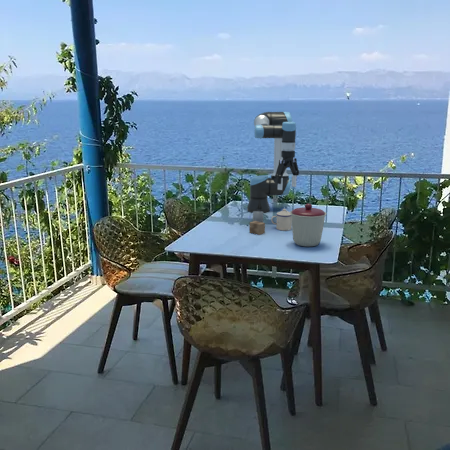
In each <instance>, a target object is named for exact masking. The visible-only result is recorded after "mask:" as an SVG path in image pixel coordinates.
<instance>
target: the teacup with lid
mask: <svg viewBox="0 0 450 450" xmlns="http://www.w3.org/2000/svg"><path fill="white" fill-rule="evenodd" d="M273 218H276V222H274V220H273ZM271 223H272V224H273V225H276V227H275V228H276V230H279V231H283V232H287V231H290V230H292V217H291V214H290V211H288V210H287V209H286V208H282V210H281V211H278V212H276V214H275V215H273V216H272V217H271Z"/></svg>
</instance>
